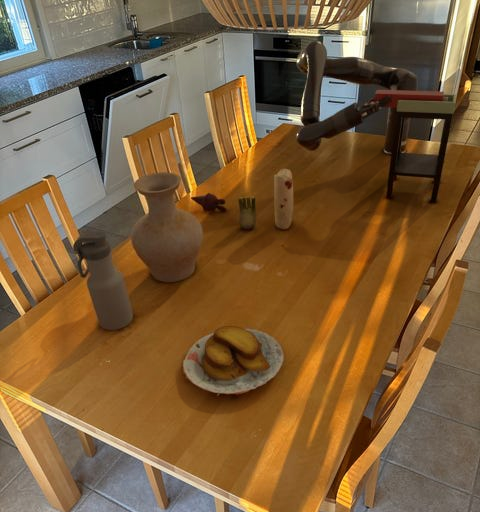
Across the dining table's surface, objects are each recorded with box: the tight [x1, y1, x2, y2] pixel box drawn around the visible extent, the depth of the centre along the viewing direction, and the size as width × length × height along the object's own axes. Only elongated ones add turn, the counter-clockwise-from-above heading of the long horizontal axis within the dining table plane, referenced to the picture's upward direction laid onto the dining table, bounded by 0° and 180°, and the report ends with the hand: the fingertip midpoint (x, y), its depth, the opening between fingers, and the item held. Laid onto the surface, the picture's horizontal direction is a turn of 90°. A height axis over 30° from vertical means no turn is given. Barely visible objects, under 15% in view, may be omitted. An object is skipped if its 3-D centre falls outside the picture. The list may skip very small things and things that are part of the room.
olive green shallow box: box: [397, 93, 457, 115], centre depth 172 cm, size 9×18×4 cm, turn 70°
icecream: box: [190, 192, 228, 213], centre depth 193 cm, size 7×7×15 cm
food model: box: [273, 168, 294, 230], centre depth 176 cm, size 10×7×20 cm
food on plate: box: [182, 325, 286, 397], centre depth 126 cm, size 26×25×7 cm
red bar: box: [374, 89, 448, 108], centre depth 173 cm, size 4×24×4 cm, turn 70°
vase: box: [130, 171, 204, 283], centre depth 155 cm, size 22×22×30 cm
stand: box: [385, 111, 454, 204], centre depth 187 cm, size 19×18×32 cm
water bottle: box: [72, 230, 134, 331], centre depth 137 cm, size 10×10×28 cm
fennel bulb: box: [237, 196, 258, 230], centre depth 178 cm, size 6×5×12 cm
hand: (391, 95), depth 174 cm, fingers open, 6 cm apart
